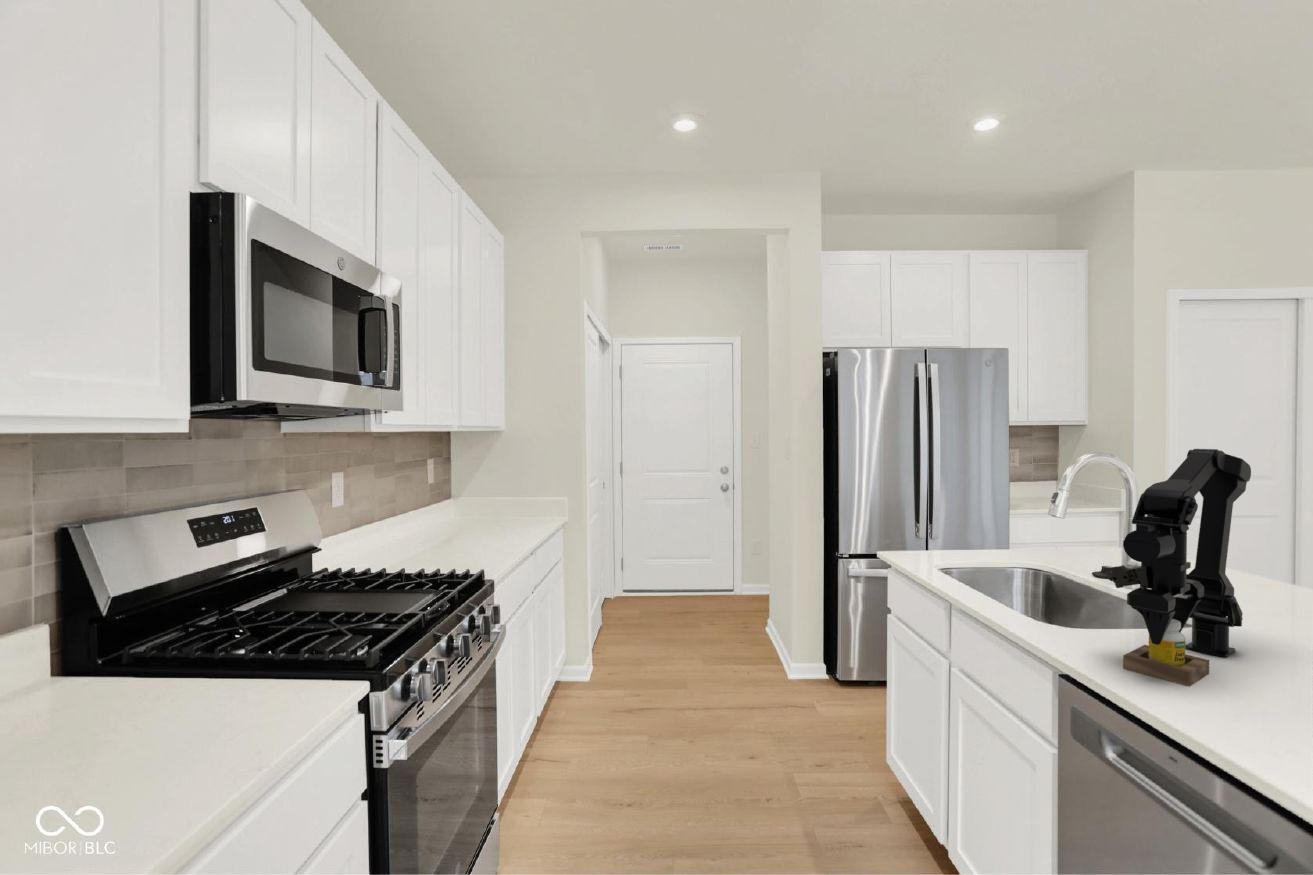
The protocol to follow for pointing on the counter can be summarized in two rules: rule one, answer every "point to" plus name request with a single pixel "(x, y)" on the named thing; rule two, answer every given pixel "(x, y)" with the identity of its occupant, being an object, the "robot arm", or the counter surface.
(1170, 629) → the supplement bottle
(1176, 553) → the robot arm
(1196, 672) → the socket block
